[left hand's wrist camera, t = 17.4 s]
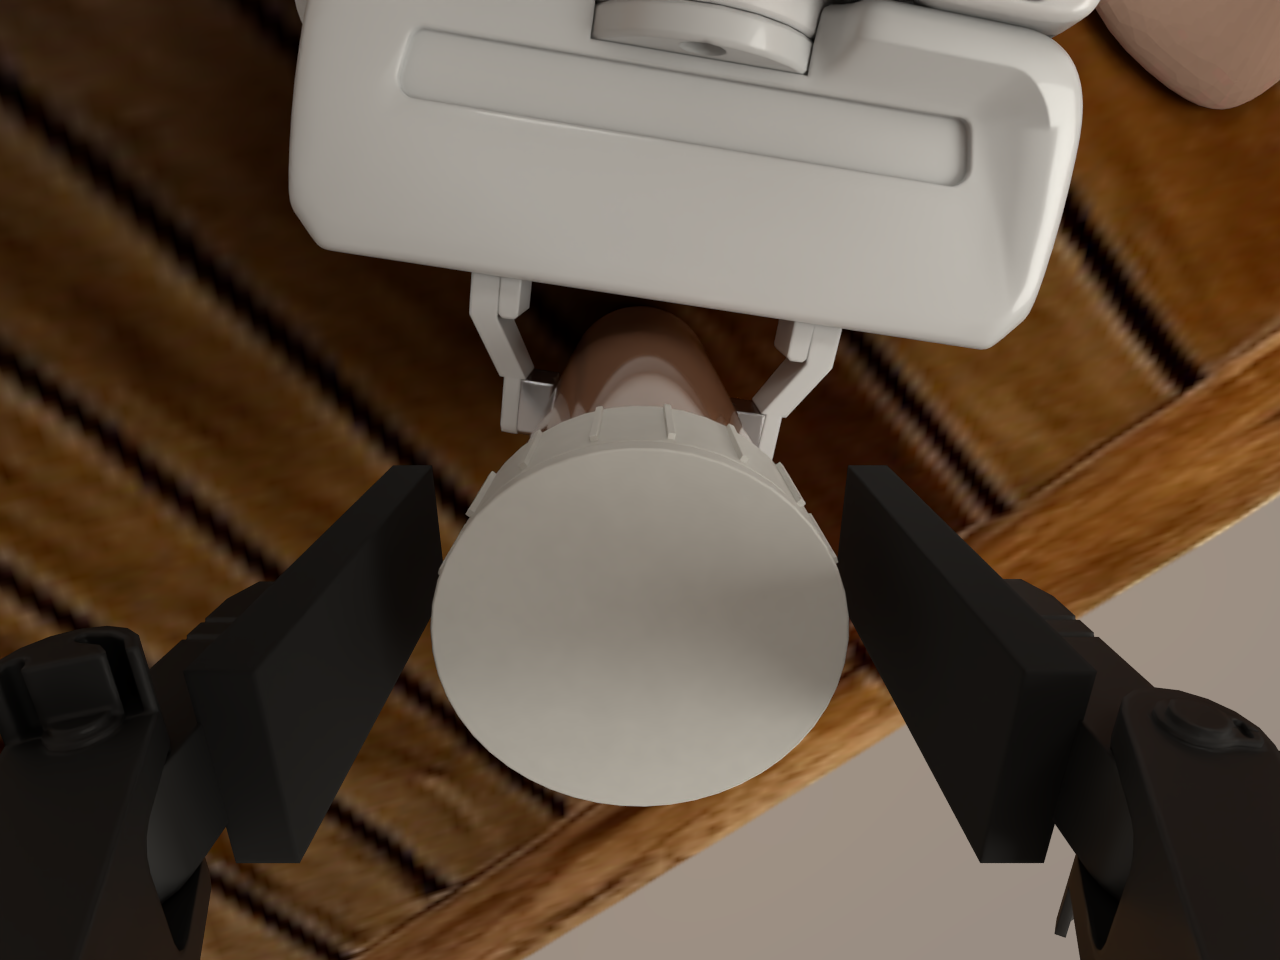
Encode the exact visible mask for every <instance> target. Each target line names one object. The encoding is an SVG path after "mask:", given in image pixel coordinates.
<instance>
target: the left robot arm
mask: <svg viewBox="0 0 1280 960" xmlns="http://www.w3.org/2000/svg"><path fill="white" fill-rule="evenodd" d="M442 563H443V559H442V550H441V542H440V533H439V524H438V515H437V506H436V497H435V488H434V479H433V471H432V466H392V467H391V468H390V469H389V470H388V471H387V472H386V473H385V474H384V475H383V476H382V477H381V478H380V479H379V480H378V481H377V482H376V483H375V484H374V485H373V486H372V487H371V488H370V489H369V490H368V491H367V492H366V493H365V494H363V495H362V496H361V497H360V498H359V499H358V500H357V501H356V502H355V503H354V504H353V505H352V506H351V507H350V508H349V509H348V510H347V511H346V512H345V513H344V514H343V515H342V516H341V517H340V518H339V519H338V520H337V521H336V522H335V523H334V524H333V525H332V526H331V527H330V528H329V529H328V530H327V531H326V532H325V533H324V534H323V535H322V536H321V537H320V538H319V539H317V540H316V541H315V542H314V543H313V544H312V545H311V546H310V547H309V548H308V549H307V550H306V551H305V552H304V553H303V554H302V555H301V556H300V557H299V558H298V559H297V560H296V561H295V562H294V563H293V564H292V565H291V566H290V567H289V568H288V569H287V570H286V571H285V572H284V573H283V574H282V575H281V576H280V577H279V578H278V579H277V580H276V581H275V582H258V583H256V584H254V585H252V586H250V587H248V588H246V589H245V590H243V591H241V592H239V593H237V594H235V595H233V596H231V597H229V598H228V599H226V600H225V601H224V602H223V603H222V604H221V605H220V606H219V607H218V608H217V609H215V610H214V611H213V612H212V613H211V614H210V615H209V616H208V617H207V618H206V619H205V620H206V621H205V623H200V624H199V625H198V626H197V627H196V628H194V629H193V630H192V631H191V632H190V633H189V634H188V635H187V639H186V640H181V641H180V642H179V643H178V644H177V645H176V646H175V647H174V648H172V649H171V650H170V651H169V652H168V653H167V654H166V655H165V656H164V657H163V658H161V659H160V660H159V661H158V662H157V663H156V664H155V665H154V666H153V667H152V668H150V669H149V668H148V665H147V661H146V658H145V655H144V651H143V648H142V645H141V641H140V638H139V635H138V634H136V633H134V632H133V631H131V630H130V629H128V628H121V627H112V626H102V627H93V628H83V629H78V630H74V631H70V632H66V633H62V634H58V635H54V636H50V637H48V638H45V639H43V640H40V641H38V642H35V643H32V644H30V645H27V646H25V647H22V648H20V649H18V650H16V651H15V652H13V653H11V654H9V655H8V656H6V657H4V658H2V659H1V660H0V734H1V736H2V739H3V741H4V744H5V747H4V749H3V751H2V752H1V754H0V960H200V957H201V950H202V944H203V937H204V931H205V925H206V918H207V912H208V906H209V899H210V893H211V880H210V873H209V869H208V866H207V862H206V859H205V856H206V855H207V853H208V852H209V850H210V849H211V847H212V846H213V844H214V843H215V841H216V840H217V839H218V837H219V836H220V834H221V833H222V831H223V830H224V828H225V827H226V828H227V832H228V835H229V839H230V843H231V846H232V850H233V853H234V857H235V861H236V863H300V861H301V860H302V858H303V856H304V854H305V852H306V850H307V848H308V846H309V845H310V843H311V841H312V839H313V837H314V835H315V833H316V831H317V829H318V828H319V826H320V824H321V822H322V820H323V818H324V816H325V814H326V813H327V811H328V809H329V807H330V805H331V803H332V801H333V799H334V798H335V796H336V794H337V792H338V790H339V788H340V786H341V784H342V783H343V781H344V779H345V777H346V775H347V773H348V771H349V769H350V768H351V766H352V764H353V762H354V760H355V758H356V756H357V754H358V753H359V751H360V749H361V747H362V745H363V743H364V741H365V739H366V738H367V736H368V734H369V732H370V730H371V728H372V726H373V724H374V722H375V721H376V719H377V717H378V715H379V713H380V711H381V709H382V707H383V706H384V704H385V702H386V700H387V698H388V696H389V694H390V692H391V691H392V689H393V687H394V685H395V683H396V681H397V679H398V677H399V676H400V674H401V672H402V670H403V668H404V666H405V664H406V662H407V661H408V659H409V657H410V655H411V653H412V651H413V649H414V647H415V646H416V644H417V642H418V640H419V638H420V636H421V634H422V632H423V631H424V629H425V627H426V625H427V623H428V621H429V619H430V617H431V613H432V602H433V598H434V593H435V589H436V584H437V580H438V578H439V575H438V571H439V568H440V566H441V565H442ZM837 568H838V570H839V574H840V577H841V580H842V583H843V587H844V590H845V594H846V601H847V608H848V615H849V617H850V619H851V621H852V623H853V625H854V627H855V629H856V631H857V632H858V634H859V636H860V638H861V640H862V642H863V644H864V646H865V647H866V649H867V651H868V653H869V655H870V657H871V659H872V661H873V662H874V664H875V666H876V668H877V670H878V672H879V674H880V676H881V677H882V679H883V681H884V683H885V685H886V687H887V689H888V691H889V692H890V694H891V696H892V698H893V700H894V702H895V704H896V706H897V707H898V709H899V711H900V713H901V715H902V717H903V719H904V721H905V722H906V724H907V726H908V728H909V730H910V732H911V734H912V736H913V738H914V739H915V741H916V743H917V745H918V747H919V749H920V751H921V752H922V754H923V756H924V758H925V760H926V762H927V764H928V766H929V768H930V769H931V771H932V773H933V775H934V777H935V779H936V781H937V782H938V784H939V786H940V788H941V790H942V792H943V794H944V796H945V798H946V799H947V801H948V803H949V805H950V807H951V809H952V811H953V813H954V814H955V816H956V818H957V820H958V822H959V824H960V826H961V827H962V829H963V831H964V833H965V835H966V837H967V839H968V841H969V843H970V845H971V846H972V848H973V850H974V852H975V854H976V856H977V858H978V859H979V861H980V863H1044V860H1045V857H1046V853H1047V850H1048V846H1049V843H1050V839H1051V835H1052V832H1053V828H1054V825H1056V826H1057V827H1058V829H1059V830H1060V832H1061V833H1062V835H1063V836H1064V838H1065V839H1066V840H1067V842H1068V843H1069V845H1070V846H1071V848H1072V849H1073V851H1074V852H1075V853H1076V855H1075V859H1074V862H1073V866H1072V869H1071V872H1070V876H1069V879H1068V882H1067V886H1066V889H1065V892H1064V896H1063V899H1062V902H1061V906H1060V909H1059V912H1058V916H1057V920H1056V927H1055V934H1056V935H1059V936H1062V937H1066V934H1067V931H1068V928H1069V925H1070V922H1071V920H1073V919H1074V923H1075V929H1076V935H1077V942H1078V948H1079V954H1080V960H1280V751H1278V749H1277V747H1276V746H1275V744H1274V743H1273V742H1272V741H1271V740H1270V739H1269V738H1268V737H1267V736H1266V734H1265V733H1264V732H1263V731H1262V730H1261V729H1260V728H1259V727H1257V726H1256V725H1254V724H1253V723H1252V722H1250V721H1248V720H1247V719H1246V718H1244V717H1242V716H1241V715H1240V714H1238V713H1237V712H1235V711H1233V710H1231V709H1228V708H1226V707H1224V706H1222V705H1220V704H1218V703H1215V702H1213V701H1211V700H1209V699H1206V698H1203V697H1199V696H1196V695H1193V694H1189V693H1186V692H1183V691H1179V690H1171V689H1163V688H1155V687H1153V686H1152V685H1151V684H1150V683H1149V682H1148V681H1147V680H1146V679H1145V678H1143V677H1142V676H1141V675H1140V674H1139V673H1138V672H1137V671H1136V670H1135V669H1133V668H1132V667H1131V666H1130V665H1129V664H1128V663H1127V662H1126V661H1125V660H1123V659H1122V658H1121V657H1120V656H1119V655H1118V654H1117V653H1116V652H1115V651H1113V650H1112V649H1111V648H1110V647H1109V646H1108V645H1107V644H1106V643H1105V642H1104V641H1102V640H1101V639H1100V638H1099V637H1094V633H1093V632H1092V631H1091V630H1090V629H1089V628H1088V627H1087V626H1086V625H1085V624H1084V623H1082V622H1081V621H1080V620H1076V619H1075V615H1074V614H1072V613H1071V612H1070V611H1069V610H1068V609H1067V608H1066V607H1065V606H1064V605H1062V604H1061V603H1060V602H1059V601H1058V600H1057V599H1056V598H1055V597H1054V596H1052V595H1050V594H1048V593H1046V592H1044V591H1042V590H1041V589H1039V588H1037V587H1035V586H1033V585H1031V584H1029V583H1027V582H1025V581H1023V580H1022V579H1002V578H1001V577H1000V576H999V575H998V574H997V573H996V572H995V571H994V570H993V569H992V568H991V567H990V566H989V565H988V564H987V563H986V562H985V561H984V560H983V559H982V558H981V557H980V556H979V555H978V554H977V553H976V552H975V551H974V550H973V549H972V548H971V547H970V546H969V545H968V544H967V543H966V542H965V541H964V540H963V539H961V538H960V537H959V536H958V535H957V534H956V533H955V532H954V531H953V530H952V529H951V528H950V527H949V526H948V525H947V524H946V523H945V522H944V521H943V520H942V519H941V518H940V517H939V516H938V515H937V514H936V513H935V512H934V511H933V510H932V509H931V508H930V507H929V506H928V505H927V504H926V503H925V502H924V501H923V500H922V499H921V498H920V497H919V496H918V495H917V494H915V493H914V492H913V491H912V490H911V489H910V488H909V487H908V486H907V485H906V484H905V483H904V482H903V481H902V480H901V479H900V478H899V477H898V476H897V475H896V474H895V473H894V472H893V471H892V470H891V469H890V468H889V467H888V466H848V471H847V479H846V488H845V497H844V506H843V515H842V524H841V533H840V542H839V550H838V563H837Z"/></svg>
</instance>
